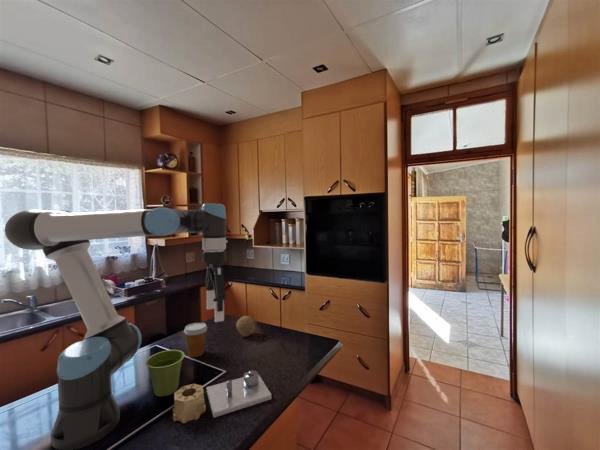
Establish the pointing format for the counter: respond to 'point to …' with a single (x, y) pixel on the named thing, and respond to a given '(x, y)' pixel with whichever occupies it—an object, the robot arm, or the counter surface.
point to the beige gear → (189, 403)
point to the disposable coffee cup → (195, 338)
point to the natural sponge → (245, 326)
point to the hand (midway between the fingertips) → (214, 314)
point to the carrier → (237, 394)
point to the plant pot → (165, 371)
